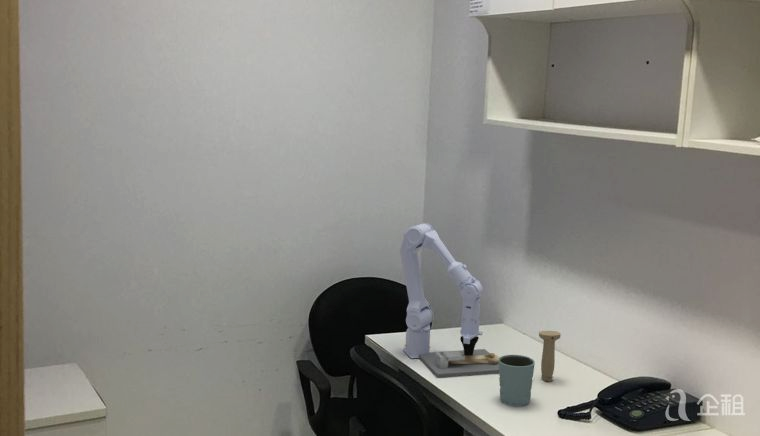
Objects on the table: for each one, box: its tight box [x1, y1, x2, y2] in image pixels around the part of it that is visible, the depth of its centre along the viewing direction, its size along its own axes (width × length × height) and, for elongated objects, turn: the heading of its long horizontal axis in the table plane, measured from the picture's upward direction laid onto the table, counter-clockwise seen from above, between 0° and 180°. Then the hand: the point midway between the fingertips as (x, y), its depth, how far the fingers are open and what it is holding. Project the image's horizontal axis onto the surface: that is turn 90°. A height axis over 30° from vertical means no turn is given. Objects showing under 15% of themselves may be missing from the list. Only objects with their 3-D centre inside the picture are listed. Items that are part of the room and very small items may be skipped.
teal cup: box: [498, 354, 536, 407], centre depth 214 cm, size 10×10×12 cm
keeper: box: [435, 350, 465, 369], centre depth 239 cm, size 8×5×4 cm, turn 105°
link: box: [449, 352, 500, 364], centre depth 242 cm, size 16×5×2 cm, turn 98°
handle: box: [538, 330, 562, 382], centre depth 230 cm, size 5×6×15 cm
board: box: [418, 348, 499, 379], centre depth 243 cm, size 20×24×1 cm
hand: (468, 358), depth 244 cm, fingers closed, pressing on link
